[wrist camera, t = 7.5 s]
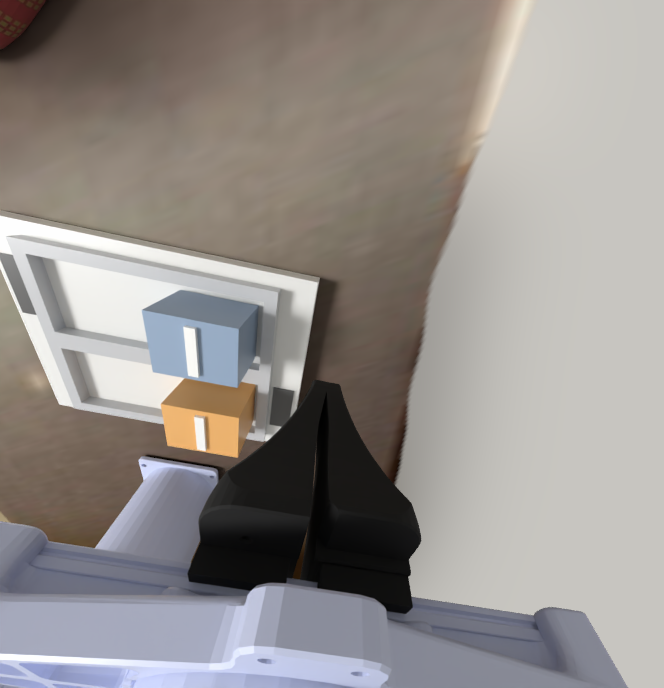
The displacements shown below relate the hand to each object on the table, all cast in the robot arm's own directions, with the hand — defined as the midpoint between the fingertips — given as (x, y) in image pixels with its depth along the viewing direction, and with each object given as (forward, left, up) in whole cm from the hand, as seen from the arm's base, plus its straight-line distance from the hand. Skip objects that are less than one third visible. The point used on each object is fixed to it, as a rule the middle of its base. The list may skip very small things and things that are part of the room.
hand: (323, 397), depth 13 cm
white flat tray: (-3, +12, -7) cm, 14 cm away
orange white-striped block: (-7, +7, -5) cm, 11 cm away
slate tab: (0, +8, -5) cm, 9 cm away
